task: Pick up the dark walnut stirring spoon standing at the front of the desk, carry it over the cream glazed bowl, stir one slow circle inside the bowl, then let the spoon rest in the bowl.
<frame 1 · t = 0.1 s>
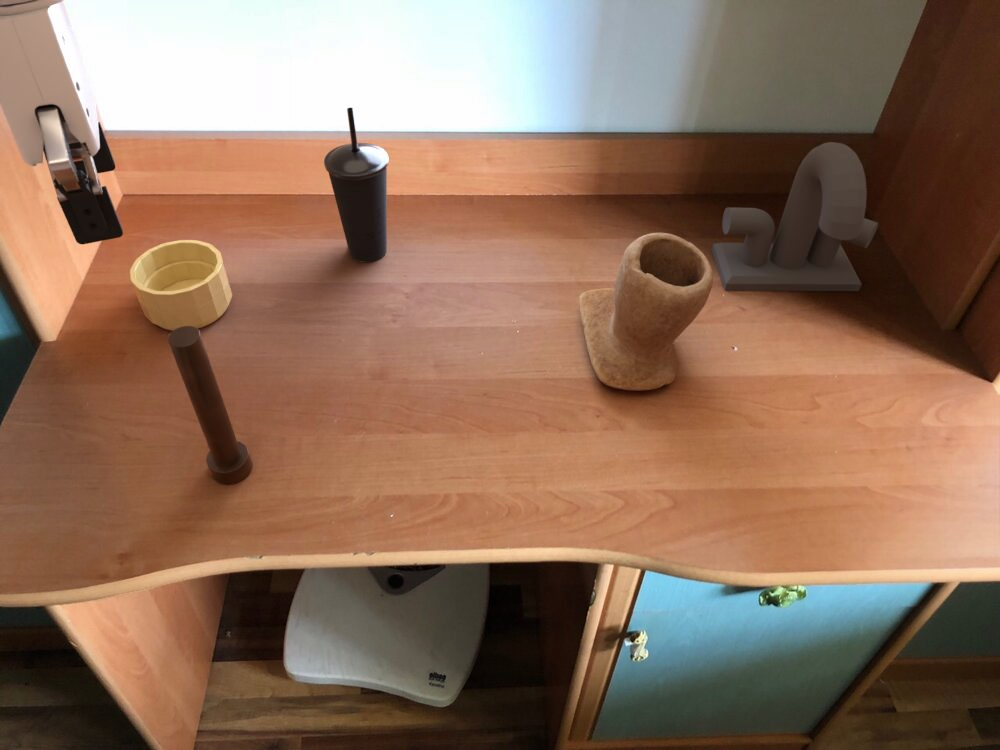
hand: (98, 203, 62), 28 cm above the table, tool pointing down, fingers open, 9 cm apart
bowl: (189, 305, 96), on the table
faucet: (789, 289, 101), on the table
drinking cup: (368, 252, 105), on the table
stone cup: (634, 351, 92), on the table
stirrer: (231, 468, 79), on the table
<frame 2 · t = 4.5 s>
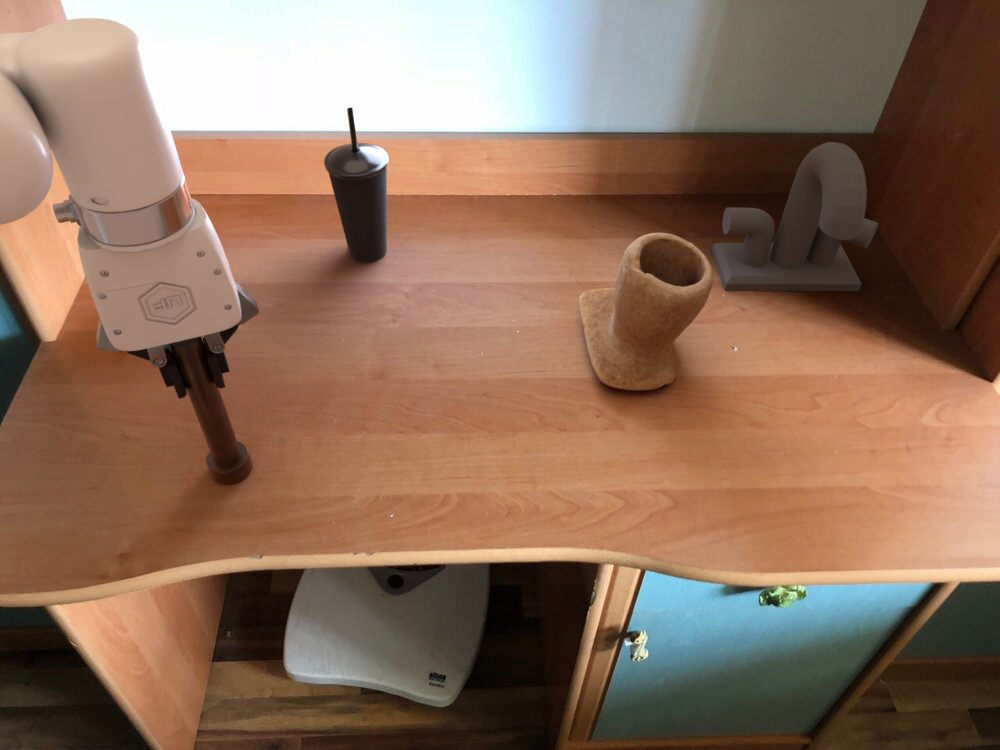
hand: (200, 381, 70), 13 cm above the table, tool pointing down, fingers closed on stirrer, 2 cm apart
stirrer: (231, 468, 79), on the table, touching gripper
everything else where it was.
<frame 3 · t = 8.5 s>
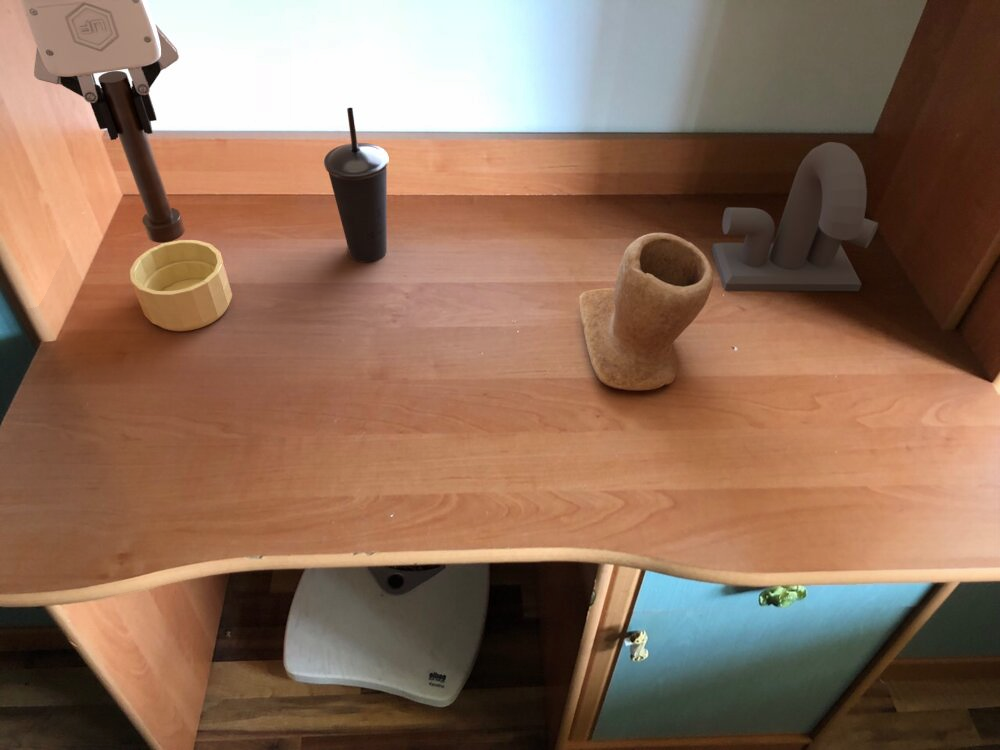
hand: (130, 129, 80), 23 cm above the table, tool pointing down, fingers closed on stirrer, 2 cm apart
stirrer: (166, 232, 89), point 11 cm above the table, touching gripper
everything else where it was.
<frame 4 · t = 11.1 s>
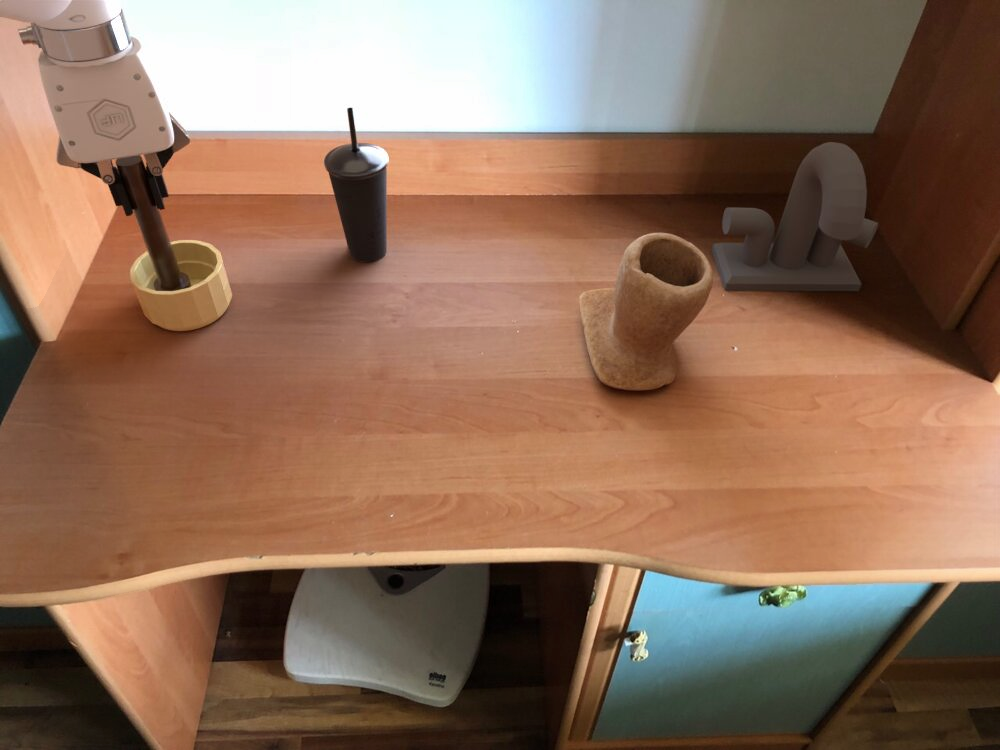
hand: (144, 204, 86), 15 cm above the table, tool pointing down, fingers closed on stirrer, 2 cm apart
stirrer: (176, 294, 95), point 2 cm above the table, touching gripper
everything else where it was.
when the fingers open (13 cm above the table, at t = 12.9 s): stirrer stays where it is, resting on bowl.
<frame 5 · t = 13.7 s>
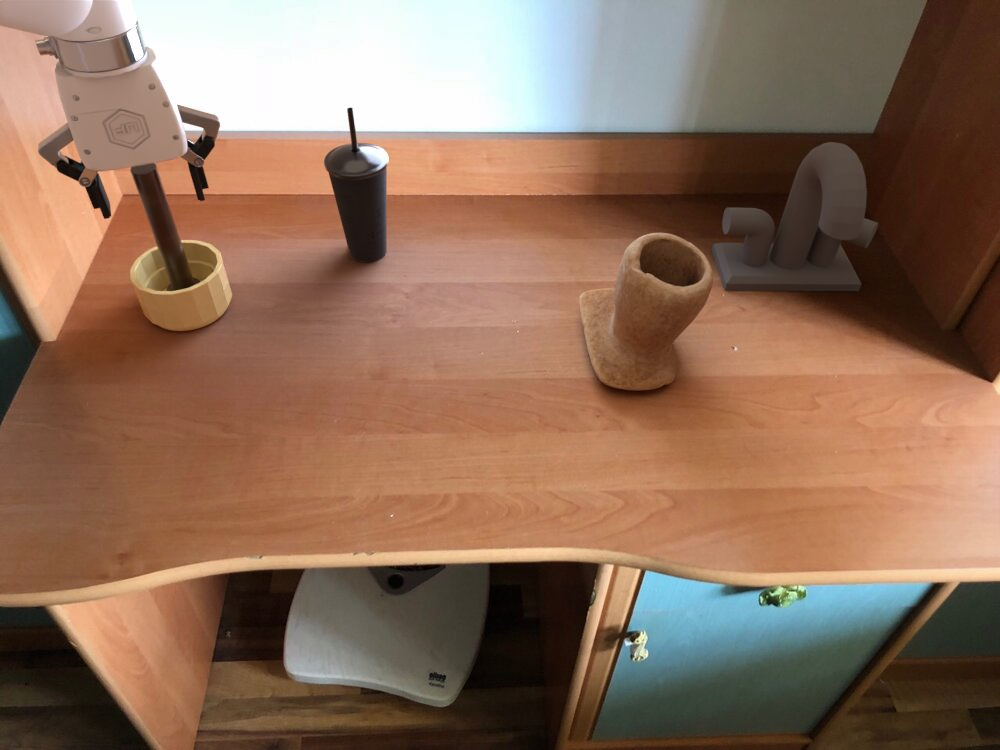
hand: (154, 202, 86), 15 cm above the table, tool pointing down, fingers open, 9 cm apart
bowl: (189, 305, 96), on the table, touching stirrer
stirrer: (188, 300, 96), point 1 cm above the table, touching bowl
everything else where it was.
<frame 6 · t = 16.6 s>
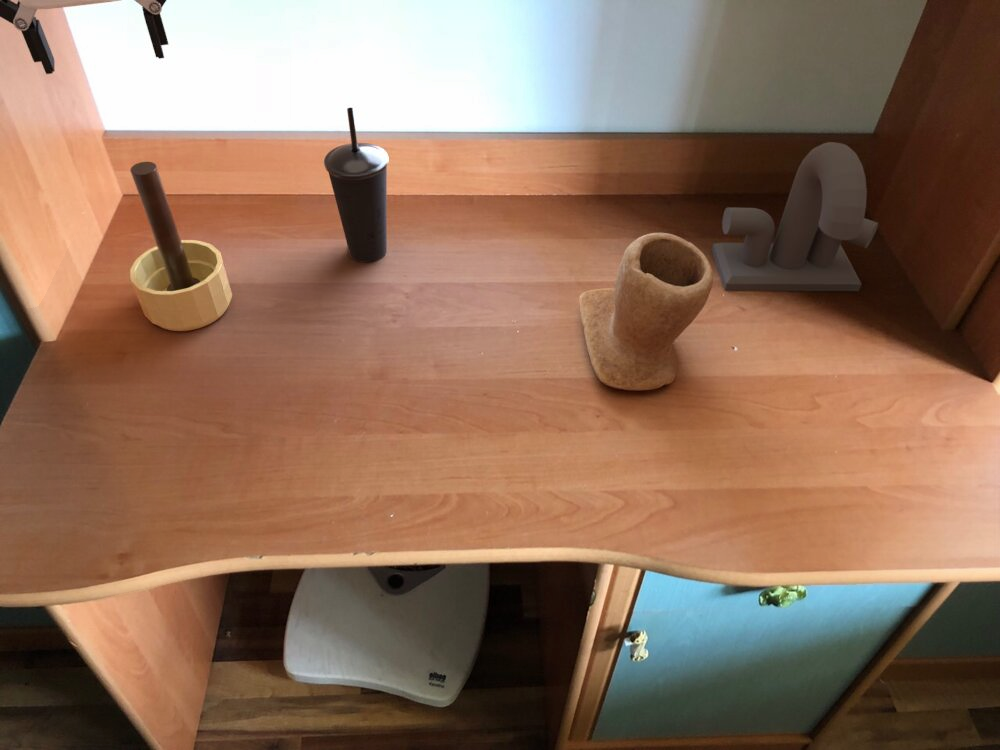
hand: (105, 60, 75), 30 cm above the table, tool pointing down, fingers open, 9 cm apart
nothing on the table moved.
at the end: stirrer inside the target area in the bowl (0.0 cm from its centre), point 0.8 cm above the bowl's base; the gripper is holding nothing; bowl moved 0.0 cm from its start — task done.
